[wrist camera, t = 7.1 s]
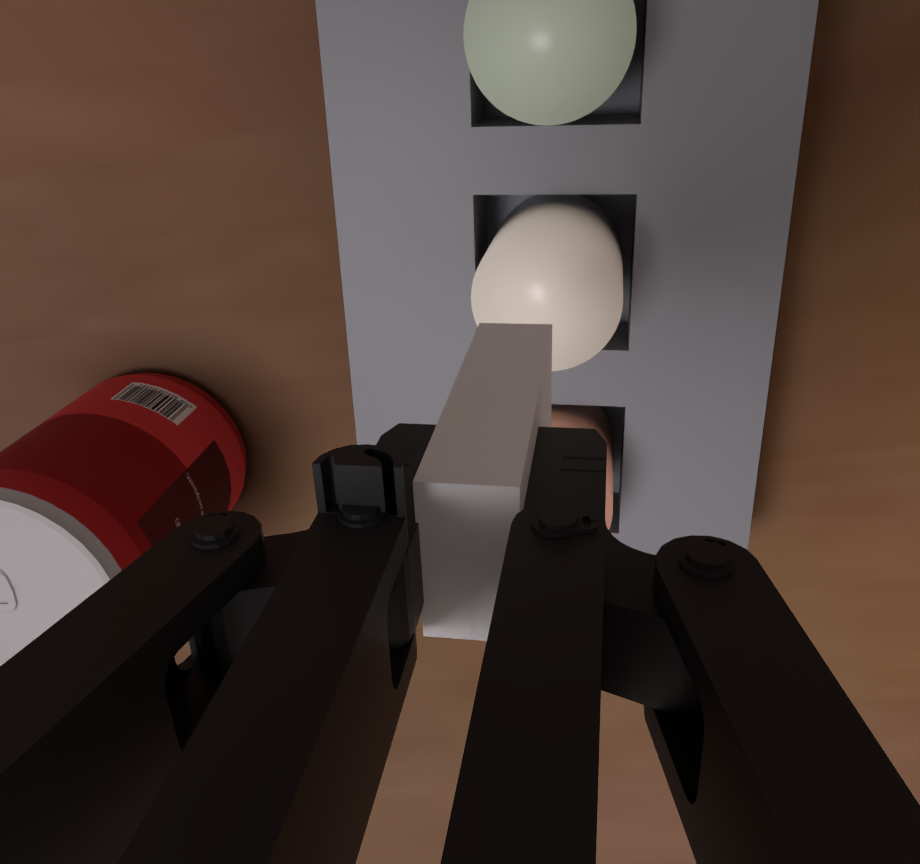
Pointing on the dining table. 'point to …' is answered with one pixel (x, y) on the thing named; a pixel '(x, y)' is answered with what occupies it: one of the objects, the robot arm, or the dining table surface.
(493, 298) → the button cream
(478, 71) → the button sage
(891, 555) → the dining table surface
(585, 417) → the button terracotta
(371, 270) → the console
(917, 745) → the dining table surface
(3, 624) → the canned food
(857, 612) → the dining table surface
